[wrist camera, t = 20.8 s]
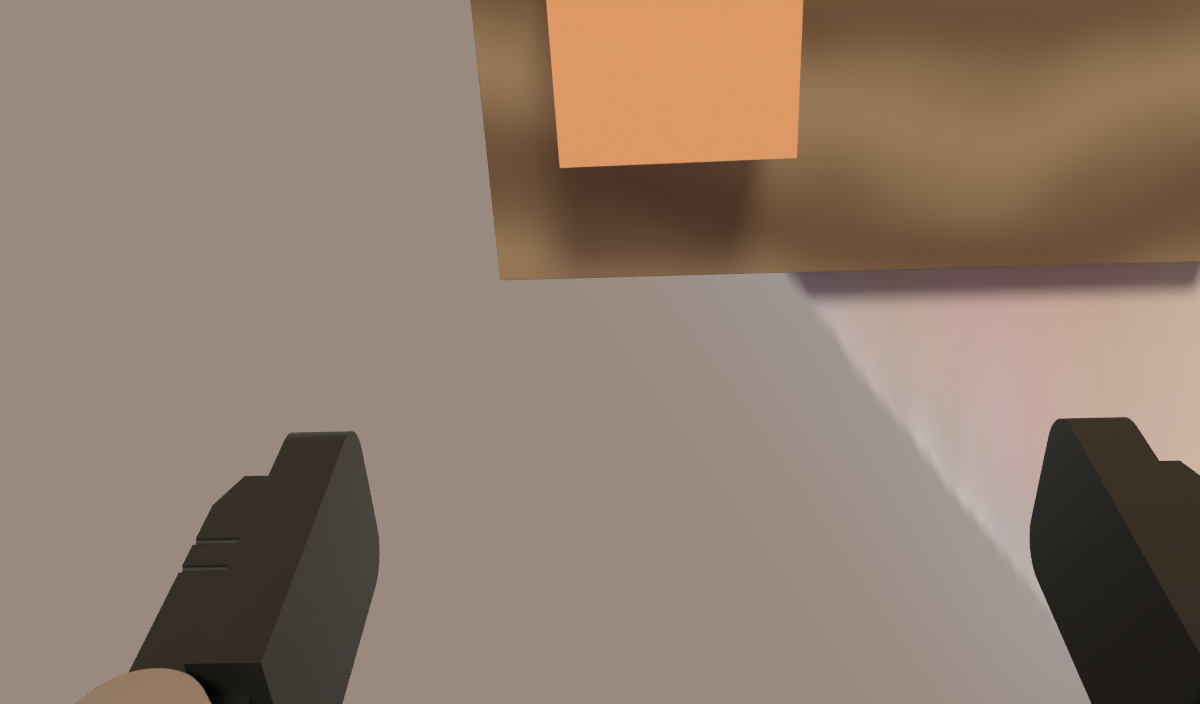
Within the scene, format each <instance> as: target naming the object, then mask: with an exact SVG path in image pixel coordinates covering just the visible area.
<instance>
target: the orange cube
mask: <svg viewBox="0 0 1200 704" xmlns="http://www.w3.org/2000/svg"><path fill="white" fill-rule="evenodd" d="M546 5H547V17H548V30H549V42H550V54H551V67H552V79H553V91H554V104H555V116H556V128H557V141H558V153H559V165H560V168H572V167H595V166H619V165H643V164H666V163H690V162H714V161H737V160H761V159H785V158H797V145H798V120H799V95H800V69H801V44H802V19H803V0H546Z"/></svg>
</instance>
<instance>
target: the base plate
mask: <svg viewBox="0 0 1200 704" xmlns="http://www.w3.org/2000/svg"><path fill="white" fill-rule="evenodd" d="M471 6H472V17H473V26H474V35H475V45H476V55H477V64H478V73H479V83H480V93H481V102H482V111H483V121H484V130H485V140H486V149H487V159H488V168H489V178H490V187H491V196H492V205H493V215H494V224H495V234H496V244H497V253H498V263H499V271H500V280H526V279H562V278H600V277H637V276H671V275H672V276H673V275H706V274H707V275H710V274H744V273H746V274H747V273H784V272H820V271H857V270H894V269H931V268H967V267H1004V266H1041V265H1078V264H1114V263H1151V262H1188V261H1200V0H803V19H802V44H801V69H800V95H799V120H798V145H797V158H785V159H761V160H737V161H714V162H690V163H666V164H643V165H619V166H595V167H572V168H560V165H559V153H558V141H557V128H556V116H555V104H554V91H553V79H552V67H551V54H550V42H549V30H548V17H547V5H546V0H471Z"/></svg>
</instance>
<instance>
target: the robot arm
mask: <svg viewBox="0 0 1200 704" xmlns="http://www.w3.org/2000/svg"><path fill="white" fill-rule="evenodd" d="M1030 551H1031V559H1032V564H1033V568H1034V572H1035V575H1036V577H1037V580H1038V582H1039V585H1040V587H1041V589H1042V591H1043V594H1044V596H1045V598H1046V601H1047V603H1048V605H1049V607H1050V610H1051V612H1052V614H1053V617H1054V619H1055V621H1056V624H1057V626H1058V628H1059V630H1060V633H1061V635H1062V637H1063V640H1064V642H1065V644H1066V646H1067V649H1068V651H1069V653H1070V655H1071V658H1072V660H1073V662H1074V665H1075V667H1076V669H1077V672H1078V674H1079V676H1080V679H1081V681H1082V683H1083V685H1084V688H1085V690H1086V692H1087V694H1088V697H1089V699H1090V701H1091V704H1200V475H1198V474H1197V473H1196V472H1194V471H1193V470H1192V469H1190V468H1189V467H1188V466H1186V465H1185V464H1183V463H1182V462H1181V461H1159V460H1158V458H1157V457H1156V455H1155V454H1154V452H1153V451H1152V449H1151V448H1150V446H1149V445H1148V443H1147V442H1146V440H1145V438H1144V437H1143V435H1142V434H1141V432H1140V431H1139V429H1138V428H1137V426H1136V425H1135V424H1134V422H1133V421H1132V420H1130V419H1129V418H1126V417H1117V418H1069V419H1058V420H1056V421H1055V422H1054V424H1053V425H1052V427H1051V430H1050V433H1049V437H1048V441H1047V446H1046V451H1045V456H1044V461H1043V465H1042V470H1041V475H1040V480H1039V485H1038V489H1037V494H1036V499H1035V504H1034V508H1033V513H1032V518H1031V524H1030ZM378 569H379V536H378V530H377V524H376V519H375V514H374V509H373V504H372V499H371V494H370V489H369V484H368V479H367V474H366V469H365V464H364V459H363V454H362V449H361V444H360V441H359V438H358V436H357V435H356V433H355V432H353V431H349V432H300V433H290V434H289V435H288V436H287V437H286V439H285V441H284V443H283V445H282V447H281V449H280V451H279V454H278V456H277V458H276V460H275V462H274V465H273V467H272V469H271V471H270V473H269V476H245V477H243V478H242V479H241V480H240V481H239V482H238V483H237V484H236V485H235V486H233V487H232V488H231V489H230V490H229V491H228V492H227V493H226V494H225V495H224V496H223V497H222V498H220V499H219V500H218V501H217V502H216V503H215V504H214V505H213V506H212V508H211V510H210V512H209V514H208V516H207V518H206V520H205V522H204V524H203V526H202V528H201V530H200V532H199V534H198V536H197V538H196V545H193V546H192V548H191V549H190V551H189V554H188V555H187V557H186V559H185V561H184V563H183V571H182V573H178V576H177V577H176V579H175V581H174V583H173V585H172V587H171V589H170V591H169V593H168V595H167V597H166V599H165V601H164V603H163V605H162V607H161V609H160V611H159V613H158V615H157V617H156V619H155V621H154V623H153V626H152V627H151V629H150V631H149V633H148V635H147V637H146V639H145V641H144V643H143V645H142V647H141V649H140V651H139V653H138V655H137V657H136V659H135V661H134V663H133V665H132V667H131V669H130V671H129V673H126V674H123V675H120V676H118V677H115V678H113V679H111V680H109V681H107V682H105V683H103V684H101V685H99V686H98V687H96V688H94V689H93V690H92V691H90V692H89V693H87V694H86V695H84V696H83V697H82V698H81V699H80V700H79V701H77V702H76V703H75V704H342V703H343V699H344V696H345V692H346V689H347V685H348V681H349V678H350V675H351V671H352V667H353V664H354V660H355V657H356V653H357V650H358V646H359V643H360V639H361V636H362V632H363V629H364V625H365V621H366V618H367V614H368V611H369V607H370V604H371V600H372V597H373V593H374V589H375V586H376V582H377V576H378Z"/></svg>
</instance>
